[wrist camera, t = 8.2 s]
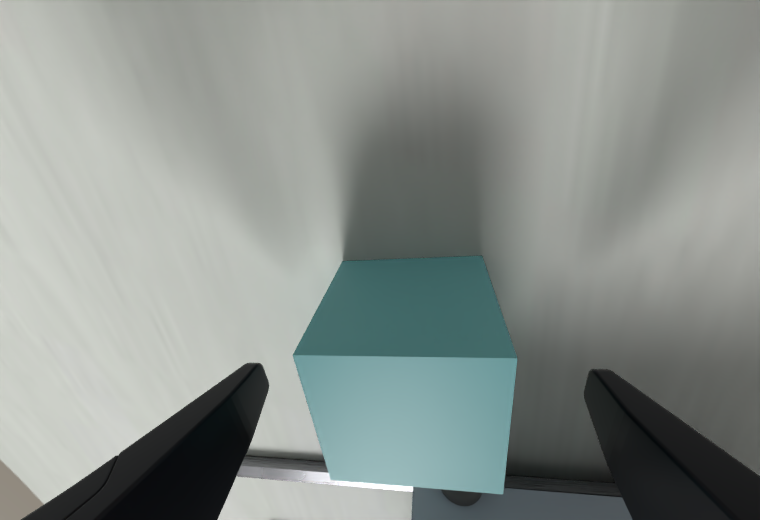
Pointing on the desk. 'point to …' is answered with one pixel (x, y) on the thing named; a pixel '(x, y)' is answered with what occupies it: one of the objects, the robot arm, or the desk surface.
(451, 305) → the teal block
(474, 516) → the box
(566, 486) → the rails
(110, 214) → the desk surface
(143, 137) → the desk surface
